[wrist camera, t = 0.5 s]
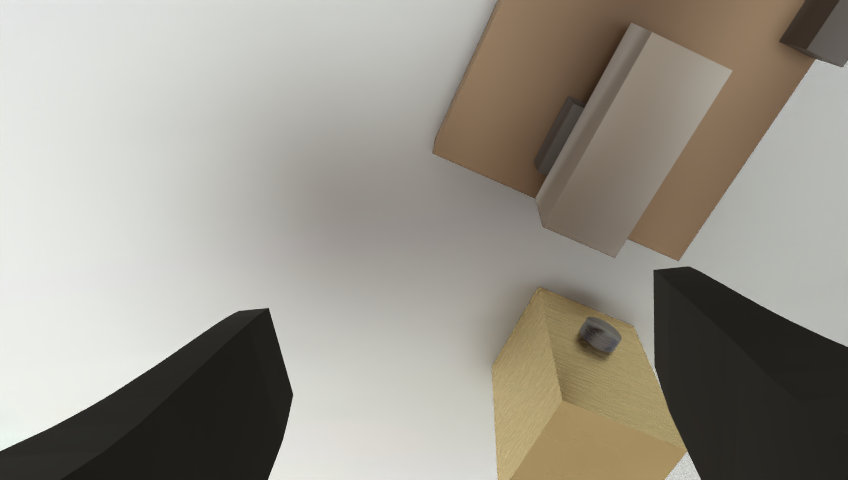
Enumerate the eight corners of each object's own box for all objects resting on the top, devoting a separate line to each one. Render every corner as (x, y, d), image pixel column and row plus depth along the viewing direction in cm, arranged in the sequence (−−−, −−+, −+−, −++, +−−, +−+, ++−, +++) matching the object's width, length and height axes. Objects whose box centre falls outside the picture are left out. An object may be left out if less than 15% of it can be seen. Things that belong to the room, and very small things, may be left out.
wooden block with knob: (639, 317, 22) (696, 439, 16) (576, 411, 24) (608, 549, 18) (544, 276, 22) (570, 388, 16) (486, 375, 23) (492, 506, 18)
